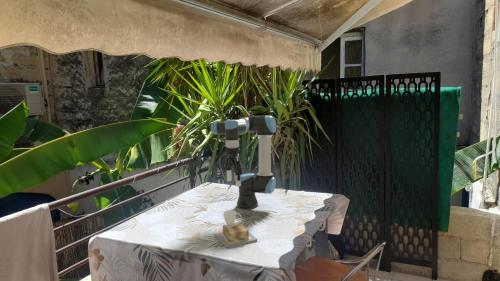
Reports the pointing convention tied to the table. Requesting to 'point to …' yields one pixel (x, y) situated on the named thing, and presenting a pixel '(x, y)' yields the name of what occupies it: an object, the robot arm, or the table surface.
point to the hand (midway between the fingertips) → (233, 183)
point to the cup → (230, 218)
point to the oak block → (236, 232)
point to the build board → (226, 243)
